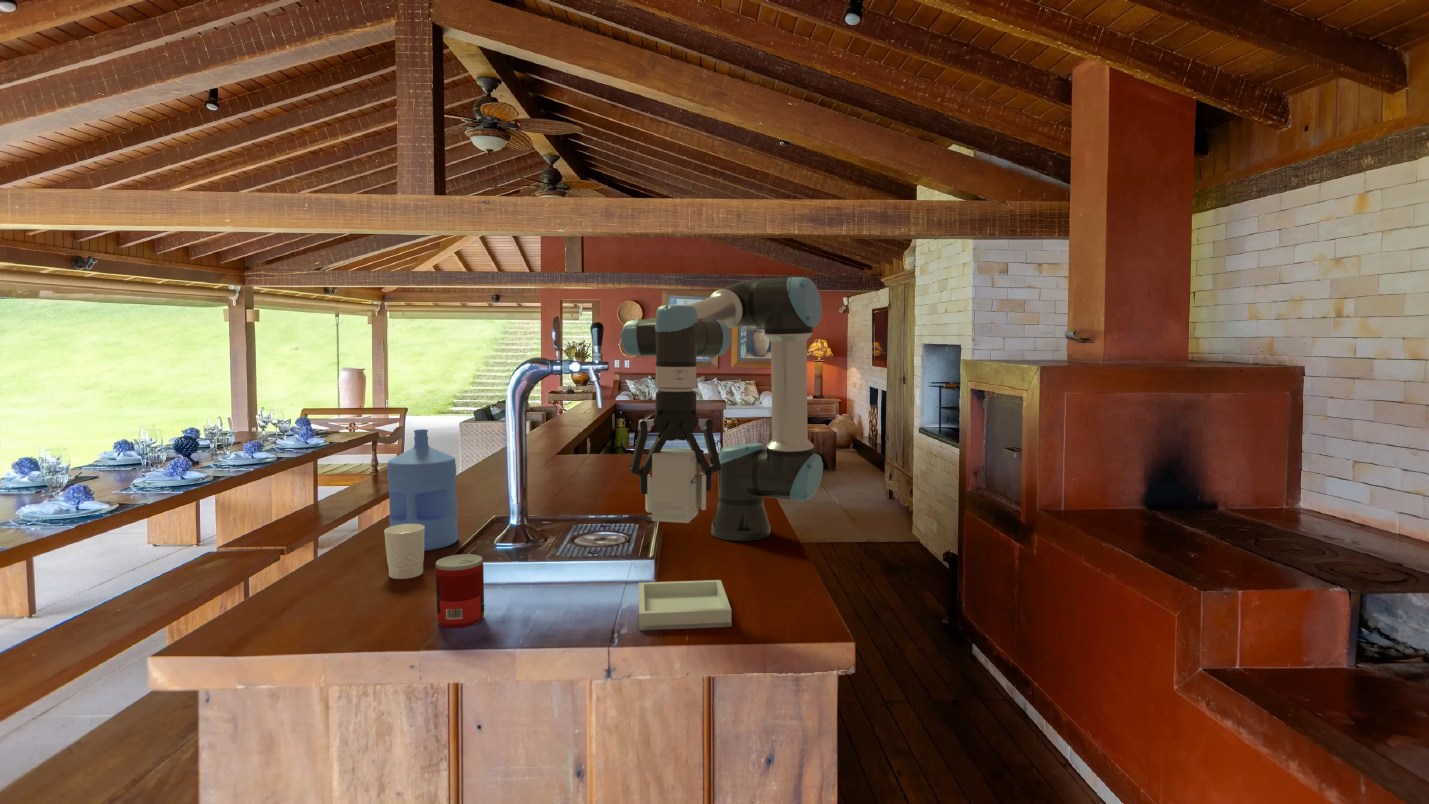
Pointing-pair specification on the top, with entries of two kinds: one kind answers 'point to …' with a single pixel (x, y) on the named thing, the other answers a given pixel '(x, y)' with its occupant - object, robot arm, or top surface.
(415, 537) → the white cup
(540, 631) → the top surface
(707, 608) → the sage tray
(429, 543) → the water jug
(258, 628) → the top surface
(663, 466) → the supplement box
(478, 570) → the canned food
